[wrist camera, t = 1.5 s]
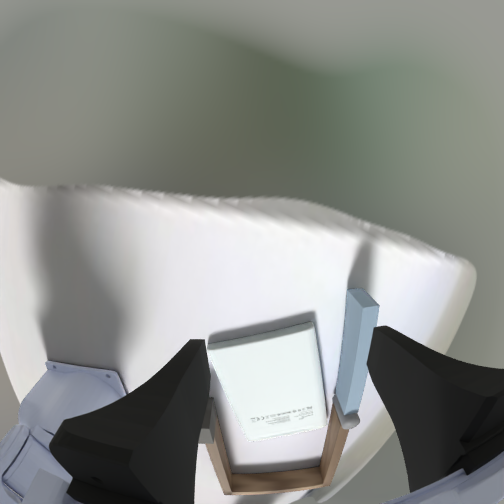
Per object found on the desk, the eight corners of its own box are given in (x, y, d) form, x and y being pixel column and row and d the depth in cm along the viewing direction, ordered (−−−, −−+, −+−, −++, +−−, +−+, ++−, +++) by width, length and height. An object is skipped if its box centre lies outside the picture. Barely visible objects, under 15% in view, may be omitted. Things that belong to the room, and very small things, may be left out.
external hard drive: (310, 317, 21) (325, 416, 24) (208, 339, 21) (246, 432, 24) (315, 327, 19) (328, 427, 22) (205, 351, 19) (247, 443, 23)
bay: (219, 477, 26) (218, 499, 22) (194, 397, 22) (188, 428, 18) (325, 468, 26) (331, 490, 23) (345, 385, 22) (358, 413, 18)
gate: (347, 401, 22) (358, 427, 19) (331, 404, 22) (340, 431, 19) (364, 287, 19) (385, 308, 16) (344, 290, 19) (362, 311, 15)
